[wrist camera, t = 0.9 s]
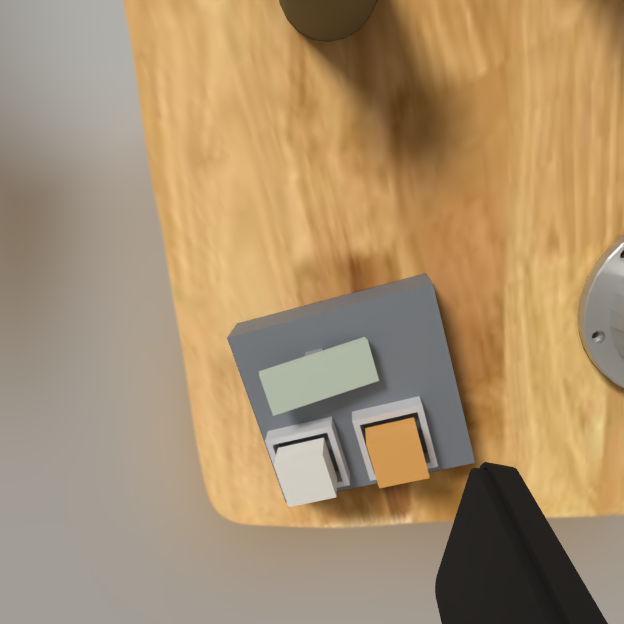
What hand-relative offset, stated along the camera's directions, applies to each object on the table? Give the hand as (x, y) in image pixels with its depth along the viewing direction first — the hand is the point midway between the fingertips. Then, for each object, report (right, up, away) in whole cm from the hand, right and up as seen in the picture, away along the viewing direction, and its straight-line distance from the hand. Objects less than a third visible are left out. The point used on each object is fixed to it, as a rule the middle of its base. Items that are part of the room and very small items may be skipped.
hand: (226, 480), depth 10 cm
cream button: (+1, -7, +24) cm, 25 cm away
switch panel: (+5, -2, +27) cm, 27 cm away
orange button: (+7, -5, +23) cm, 25 cm away
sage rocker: (+2, -1, +22) cm, 22 cm away
